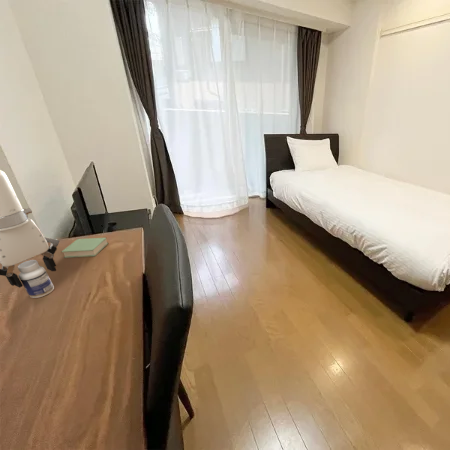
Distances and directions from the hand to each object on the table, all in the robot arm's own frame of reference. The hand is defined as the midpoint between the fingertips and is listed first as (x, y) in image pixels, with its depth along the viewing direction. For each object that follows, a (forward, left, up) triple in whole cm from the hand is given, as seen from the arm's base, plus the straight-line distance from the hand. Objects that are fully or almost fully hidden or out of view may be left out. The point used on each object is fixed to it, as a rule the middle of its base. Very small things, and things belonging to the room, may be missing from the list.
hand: (35, 277), depth 75 cm
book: (-1, +23, -5) cm, 24 cm away
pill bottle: (0, 0, -5) cm, 5 cm away
